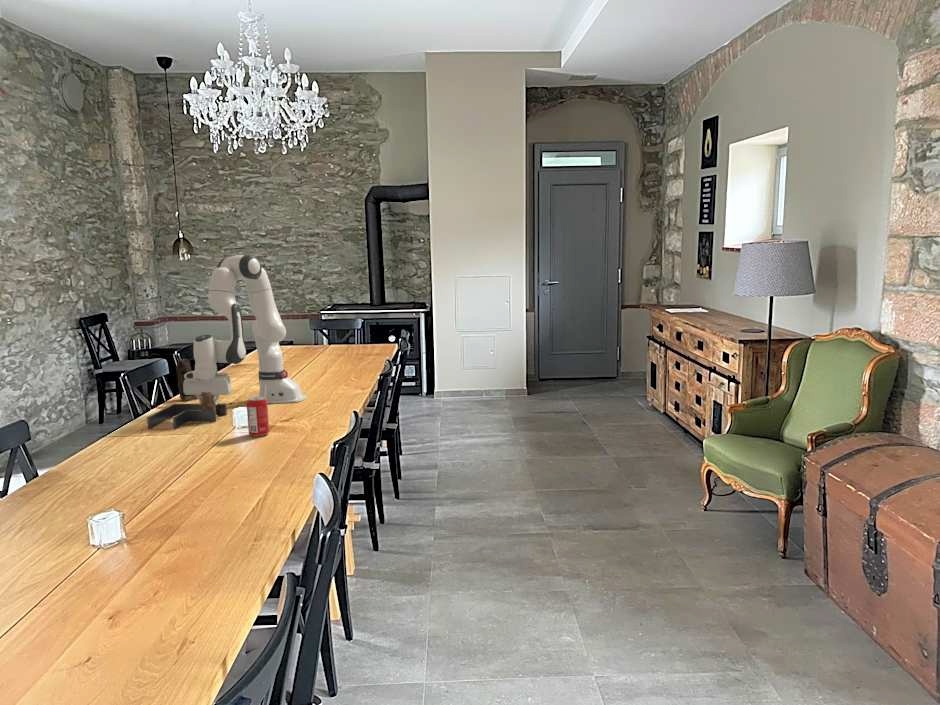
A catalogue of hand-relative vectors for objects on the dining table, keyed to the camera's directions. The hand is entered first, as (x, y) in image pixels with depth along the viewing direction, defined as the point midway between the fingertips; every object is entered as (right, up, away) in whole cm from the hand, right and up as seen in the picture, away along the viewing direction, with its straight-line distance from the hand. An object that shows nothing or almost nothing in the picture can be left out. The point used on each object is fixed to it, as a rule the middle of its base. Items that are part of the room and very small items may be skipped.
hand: (208, 404), depth 314 cm
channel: (-7, -7, -3) cm, 11 cm away
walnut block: (0, -6, +1) cm, 6 cm away
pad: (-14, -8, -10) cm, 19 cm away
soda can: (+29, -10, -26) cm, 40 cm away
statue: (-23, 0, +37) cm, 44 cm away
